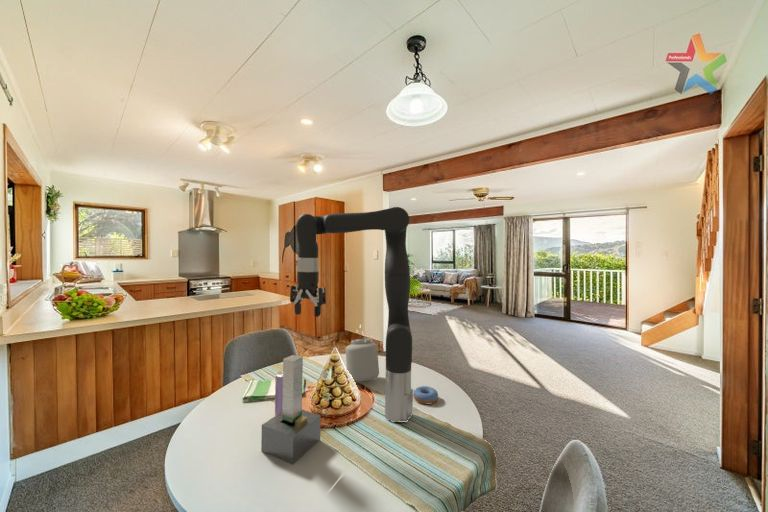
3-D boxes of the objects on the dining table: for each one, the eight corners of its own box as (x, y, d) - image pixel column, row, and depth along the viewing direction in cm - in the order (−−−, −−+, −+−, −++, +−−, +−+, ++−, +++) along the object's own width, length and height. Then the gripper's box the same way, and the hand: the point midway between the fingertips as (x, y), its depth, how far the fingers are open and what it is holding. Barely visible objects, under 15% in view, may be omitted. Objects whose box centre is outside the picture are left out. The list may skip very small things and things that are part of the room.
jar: (338, 374, 142) (339, 323, 142) (366, 369, 150) (367, 320, 149) (355, 390, 126) (356, 332, 126) (384, 383, 133) (385, 328, 133)
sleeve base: (320, 440, 92) (320, 411, 91) (292, 465, 81) (293, 432, 81) (290, 430, 97) (291, 402, 97) (261, 452, 86) (261, 420, 86)
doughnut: (442, 403, 116) (441, 391, 116) (419, 407, 113) (418, 395, 113) (432, 394, 125) (431, 383, 126) (410, 398, 123) (409, 387, 123)
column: (301, 416, 90) (302, 357, 90) (292, 422, 86) (293, 361, 86) (291, 412, 91) (292, 354, 91) (282, 419, 88) (283, 358, 88)
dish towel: (304, 398, 119) (304, 391, 119) (241, 404, 114) (241, 397, 114) (304, 380, 137) (304, 374, 137) (250, 384, 131) (250, 378, 131)
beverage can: (286, 420, 102) (287, 377, 102) (271, 418, 104) (272, 375, 104) (295, 411, 108) (296, 370, 108) (280, 409, 110) (281, 369, 109)
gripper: (330, 270, 106) (329, 315, 106) (299, 269, 112) (299, 311, 112) (317, 271, 99) (316, 319, 99) (285, 270, 105) (284, 315, 105)
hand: (307, 315), depth 106 cm, fingers open, 8 cm apart
